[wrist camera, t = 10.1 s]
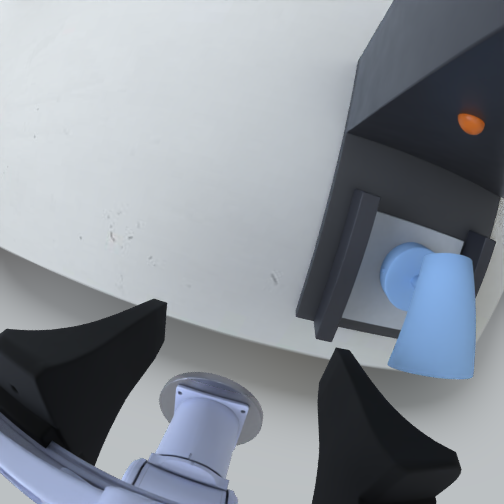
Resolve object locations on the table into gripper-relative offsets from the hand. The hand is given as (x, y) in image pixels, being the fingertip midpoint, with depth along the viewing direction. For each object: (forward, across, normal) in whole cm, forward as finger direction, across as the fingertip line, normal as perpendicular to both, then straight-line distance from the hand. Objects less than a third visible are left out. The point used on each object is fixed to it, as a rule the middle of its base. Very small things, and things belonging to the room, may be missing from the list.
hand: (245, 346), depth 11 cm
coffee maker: (+11, -10, -6) cm, 16 cm away
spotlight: (+9, -10, -2) cm, 14 cm away
